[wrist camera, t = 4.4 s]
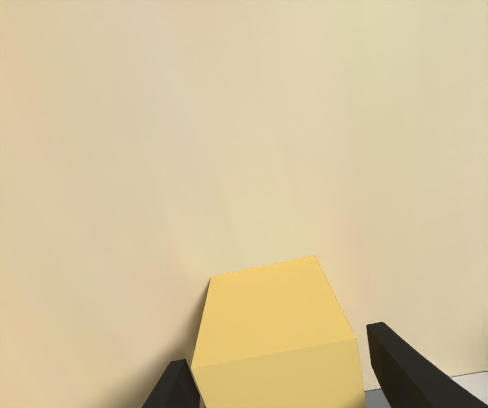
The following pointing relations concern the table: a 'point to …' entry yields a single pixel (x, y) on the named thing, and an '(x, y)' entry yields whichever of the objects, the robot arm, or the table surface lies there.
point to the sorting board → (478, 384)
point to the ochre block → (277, 341)
